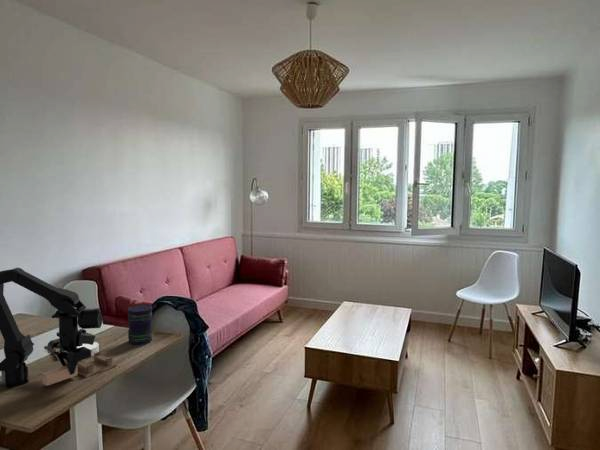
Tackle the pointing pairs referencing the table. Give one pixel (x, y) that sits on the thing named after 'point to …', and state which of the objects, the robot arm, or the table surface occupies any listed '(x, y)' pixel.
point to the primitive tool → (52, 350)
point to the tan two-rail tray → (95, 365)
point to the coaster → (91, 347)
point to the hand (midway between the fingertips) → (69, 372)
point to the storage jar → (140, 325)
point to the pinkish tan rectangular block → (57, 375)
